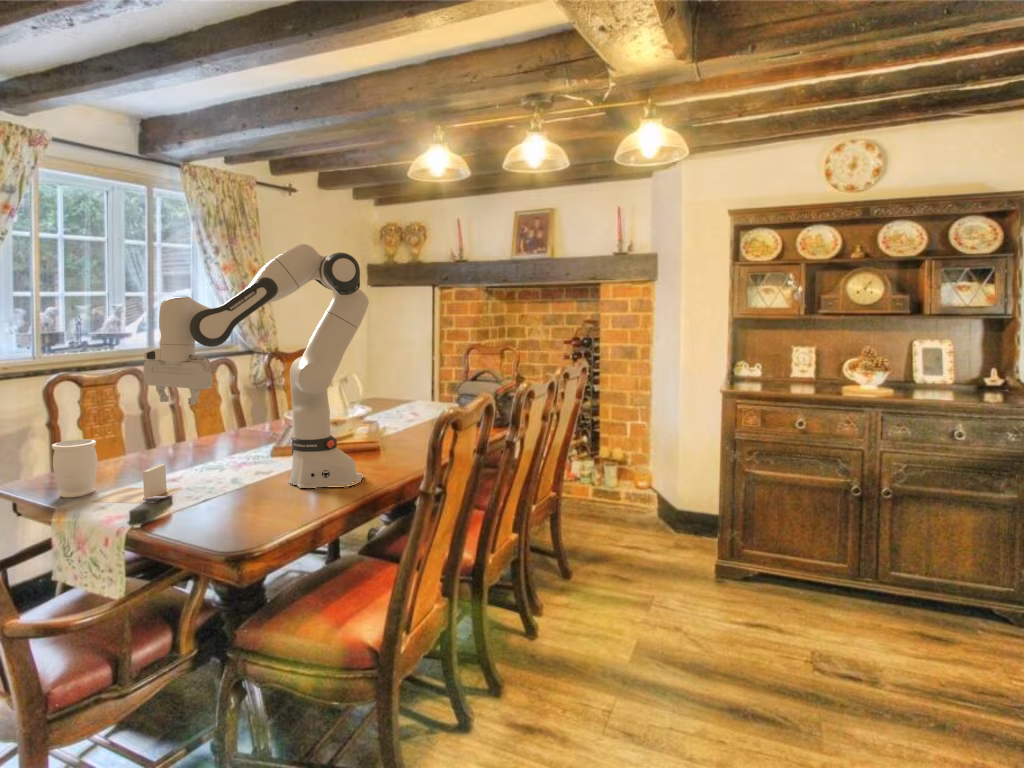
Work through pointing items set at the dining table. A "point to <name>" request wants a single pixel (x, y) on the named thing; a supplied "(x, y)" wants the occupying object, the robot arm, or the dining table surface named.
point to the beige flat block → (154, 481)
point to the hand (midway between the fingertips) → (178, 403)
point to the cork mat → (130, 495)
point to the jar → (75, 467)
